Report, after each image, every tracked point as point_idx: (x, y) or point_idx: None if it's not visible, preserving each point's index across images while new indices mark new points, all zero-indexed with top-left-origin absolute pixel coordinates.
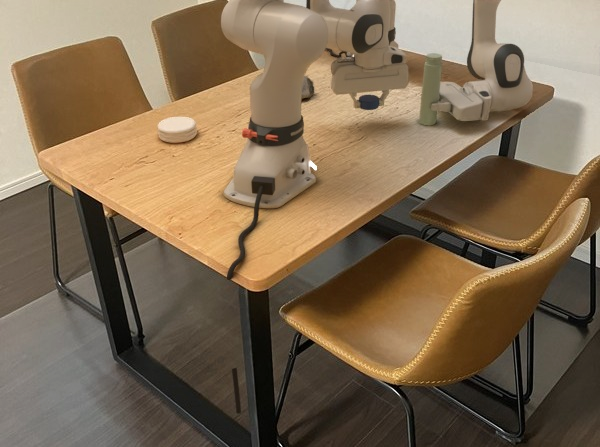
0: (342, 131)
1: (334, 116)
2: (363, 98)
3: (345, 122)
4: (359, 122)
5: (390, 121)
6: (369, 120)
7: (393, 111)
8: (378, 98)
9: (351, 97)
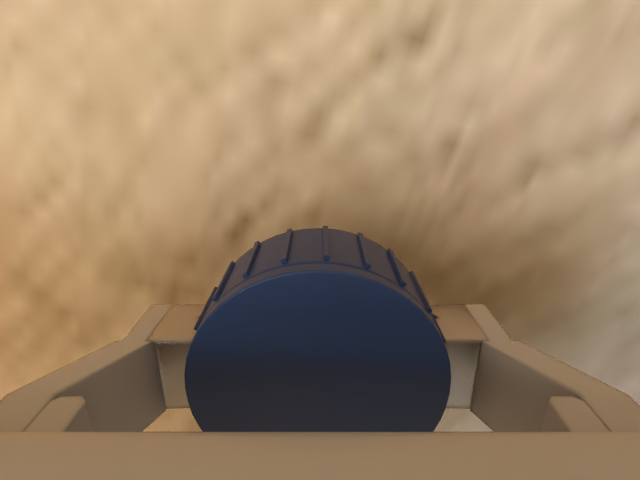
0: (122, 319)
1: (71, 27)
2: (243, 385)
3: (158, 179)
4: (266, 201)
5: (495, 230)
6: (351, 180)
7: (623, 29)
8: (433, 420)
9: (70, 365)
